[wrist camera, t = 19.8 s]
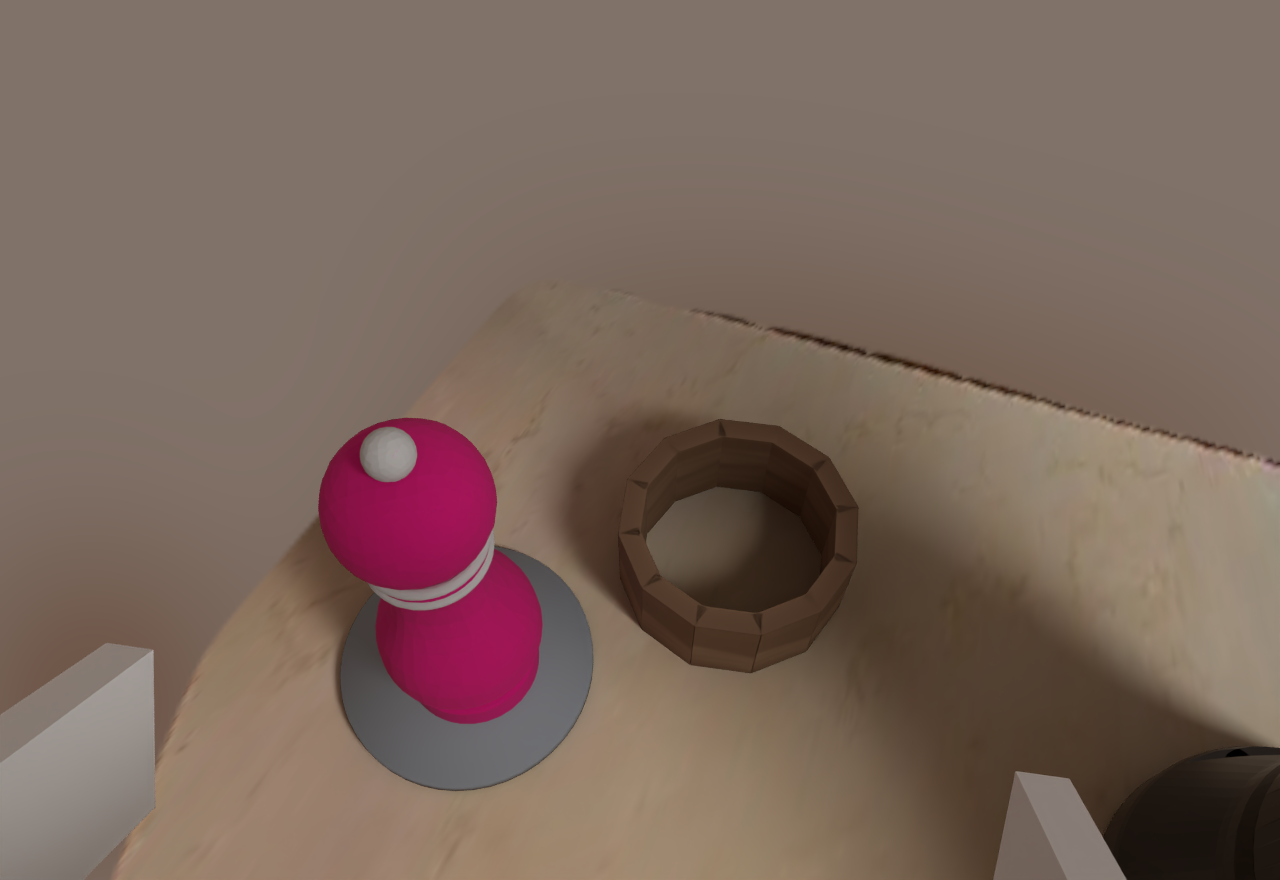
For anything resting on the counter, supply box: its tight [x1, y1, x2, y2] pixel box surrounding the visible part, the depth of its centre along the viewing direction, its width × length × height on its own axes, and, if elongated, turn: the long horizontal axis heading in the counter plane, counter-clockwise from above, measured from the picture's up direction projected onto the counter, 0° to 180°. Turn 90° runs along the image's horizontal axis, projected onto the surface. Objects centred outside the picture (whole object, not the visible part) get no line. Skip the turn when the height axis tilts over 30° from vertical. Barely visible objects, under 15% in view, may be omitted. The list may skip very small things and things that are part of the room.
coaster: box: [340, 546, 593, 791], centre depth 49 cm, size 12×12×1 cm
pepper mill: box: [318, 418, 543, 724], centre depth 40 cm, size 7×7×20 cm
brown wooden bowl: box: [618, 419, 858, 673], centre depth 50 cm, size 11×11×5 cm
